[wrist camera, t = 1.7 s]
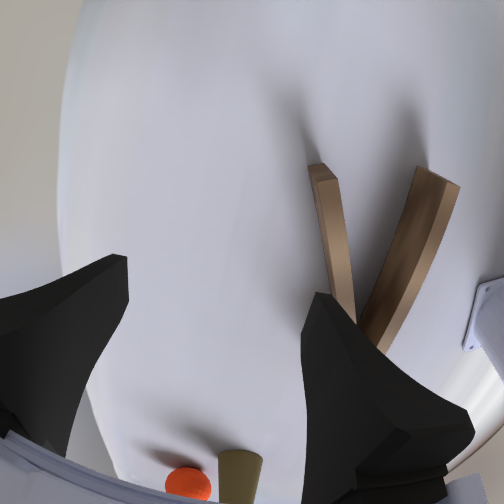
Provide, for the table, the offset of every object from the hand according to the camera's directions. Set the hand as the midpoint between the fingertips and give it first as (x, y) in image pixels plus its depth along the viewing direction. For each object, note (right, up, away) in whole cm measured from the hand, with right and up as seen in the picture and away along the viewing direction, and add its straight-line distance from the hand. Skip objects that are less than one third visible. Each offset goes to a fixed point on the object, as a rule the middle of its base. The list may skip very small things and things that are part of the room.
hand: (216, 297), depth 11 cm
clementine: (-8, -32, +27) cm, 43 cm away
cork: (0, -26, +24) cm, 35 cm away
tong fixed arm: (+11, -1, +10) cm, 15 cm away
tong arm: (+7, +1, +9) cm, 12 cm away
